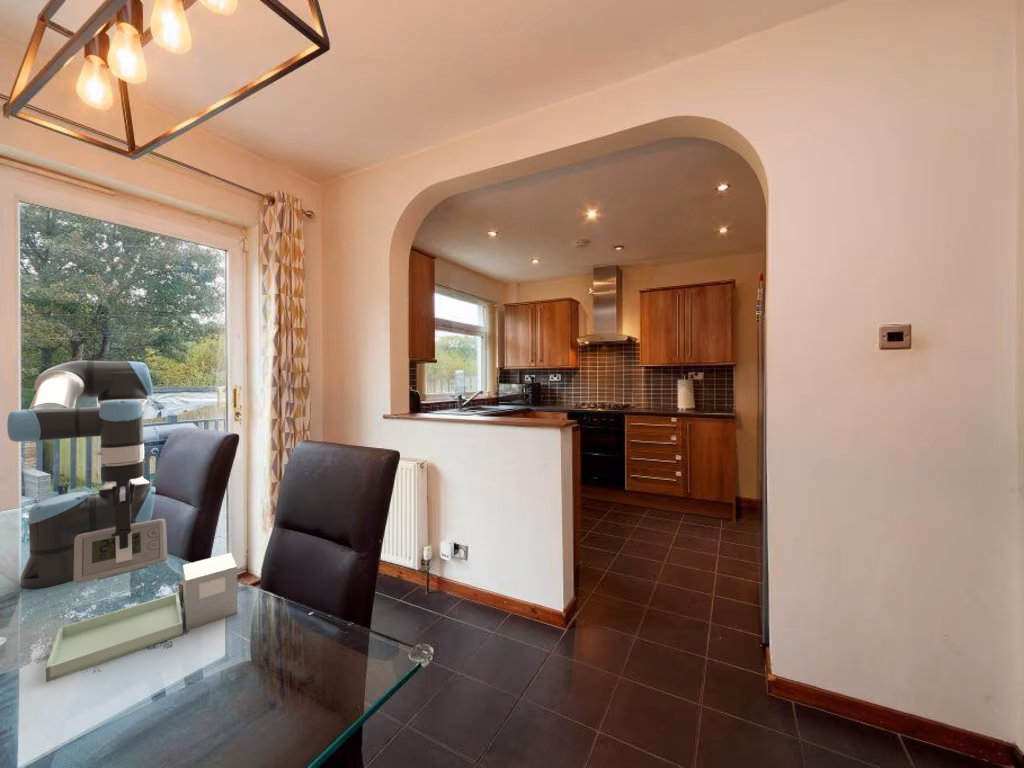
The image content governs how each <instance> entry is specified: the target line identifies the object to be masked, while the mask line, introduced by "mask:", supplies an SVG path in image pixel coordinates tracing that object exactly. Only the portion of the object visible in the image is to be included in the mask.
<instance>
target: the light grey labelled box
mask: <svg viewBox="0 0 1024 768" xmlns="http://www.w3.org/2000/svg"><path fill="white" fill-rule="evenodd" d="M182 581H183V603H182V605H183V607H182V608H183V617H184V623H185V624H184V625H185V629H186V630H185V631H189V630H192V629H194V628H198V627H200V626H204V625H206V624H210V623H213V622H216V621H219V620H221V619H224V618H227V617H230V616H233V615H236V614H238V612H239V611H238V608H239V607H238V565H237V564H236V561H235V559H234V556H233V554H232V552H228V553H225V554H221V555H217V556H213V557H208V558H204V559H200V560H197V561H194V562H190V563H185V564H183V565H182ZM235 613H236V614H235Z"/></svg>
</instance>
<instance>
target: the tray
mask: <svg viewBox="0 0 1024 768" xmlns="http://www.w3.org/2000/svg"><path fill="white" fill-rule="evenodd" d="M182 614H183V613H182V609H181V602H180V600H179V592H177V593H172V594H169V595H166V596H162V597H159V598H156V599H155V598H154V599H153V600H152V599H151V600H148V601H145V602H142V603H138V604H135V605H132V606H128V607H124V608H122V609H119V610H115V611H111V612H107V613H104V614H100V615H97V616H94V617H91V618H87V619H84V620H80V621H77V622H73V623H69V624H66V625H61V626H60V627H58V631H57V633H56V637H55V640H54V642H53V645H52V648H51V651H50V654H49V657H48V659H47V662H46V666H45V668H44V669H45V682H46V683H47V682H49V681H53V680H56V679H59V678H62V677H65V676H68V675H71V674H73V673H76V672H79V671H82V670H84V669H88V668H91V667H94V666H96V665H100V664H102V663H105V662H108V661H110V660H111V661H112V660H113V659H116V658H120V657H123V656H125V655H128V654H131V653H134V652H136V651H139V650H143V649H145V648H148V647H152V646H154V645H157V644H160V643H162V642H166V641H168V640H171V639H174V638H177V637H180V636H183V635H184V633H183V632H184V629H183V626H184V625H183V615H182Z"/></svg>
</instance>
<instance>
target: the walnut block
mask: <svg viewBox="0 0 1024 768" xmlns="http://www.w3.org/2000/svg"><path fill="white" fill-rule="evenodd" d="M178 593H179V600H180V604H183V580H182V581H180V582H178Z"/></svg>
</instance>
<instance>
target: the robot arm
mask: <svg viewBox="0 0 1024 768" xmlns="http://www.w3.org/2000/svg"><path fill="white" fill-rule="evenodd" d="M33 387H34V391H35V392H36V393H35V394H34V397H33V399H32V401H31V403H30V406H29V408H25V409H18V410H17V409H15V410H12V411H10V412H9V413H8V416H7V426H6V427H7V435H8V438H9V440H11V441H12V442H16V443H20V442H32V443H35V442H41V441H42V442H43V441H52V440H65V439H76V438H79V439H80V438H88V437H89V438H92V437H100V450H98V451H96V455H98V456H101V457H100V463H101V464H103V465H102V466H101V467H100V480H101V481H102V482H105V483H104V484H102V486H100V488H98V494H96V495H95V494H94V495H90V493H89V492H87V491H78V492H70V493H65V494H61V495H60V494H59V495H56V496H54V497H50V498H47V499H43V500H42V501H39V502H37V503H35V504H34V505H32V506H31V507H30V509H29V513H28V515H29V516H28V520H27V524H28V530H29V531H28V533H29V558H27V559H28V560H27V562H26V564H25V566H24V569H23V571H22V573H21V575H20V586H21V585H22V586H23V587H22V586H21V587H22V588H26V589H37V588H38V589H40V588H46V587H50V586H56V585H59V584H64V583H67V582H71V581H74V541H75V537H76V536H77V535H79V534H83V533H88V532H93V531H98V530H101V529H106V528H111V527H116V532H115V534H112V537H114V536H116V563H118V562H123V561H127V560H131V559H132V532H131V524H132V523H138V522H143V521H144V522H146V521H151V519H152V516H153V512H154V505H155V498H156V487H155V486H152V485H151V486H150V481H149V480H148V479H145V478H144V475H145V462H144V461H143V460H144V459H145V442H144V414H145V411H144V407H143V406H144V405H145V403H147V402H148V397H152V396H153V394H154V390H153V385H152V379H151V375H150V371H149V368H148V365H147V364H146V363H144V362H141V361H130V360H75V361H73V360H72V361H69V362H68V361H67V362H64V363H61V364H58V365H55V366H52V367H50V368H48V369H46V370H45V371H43V372H42V373H40V374H39V375H38V376H37V377H36V379H35V382H34V386H33ZM78 398H97V403H98V404H99V406H92V407H91V406H88V407H87V406H86V407H85V406H84V407H76V403H77V399H78Z"/></svg>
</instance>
